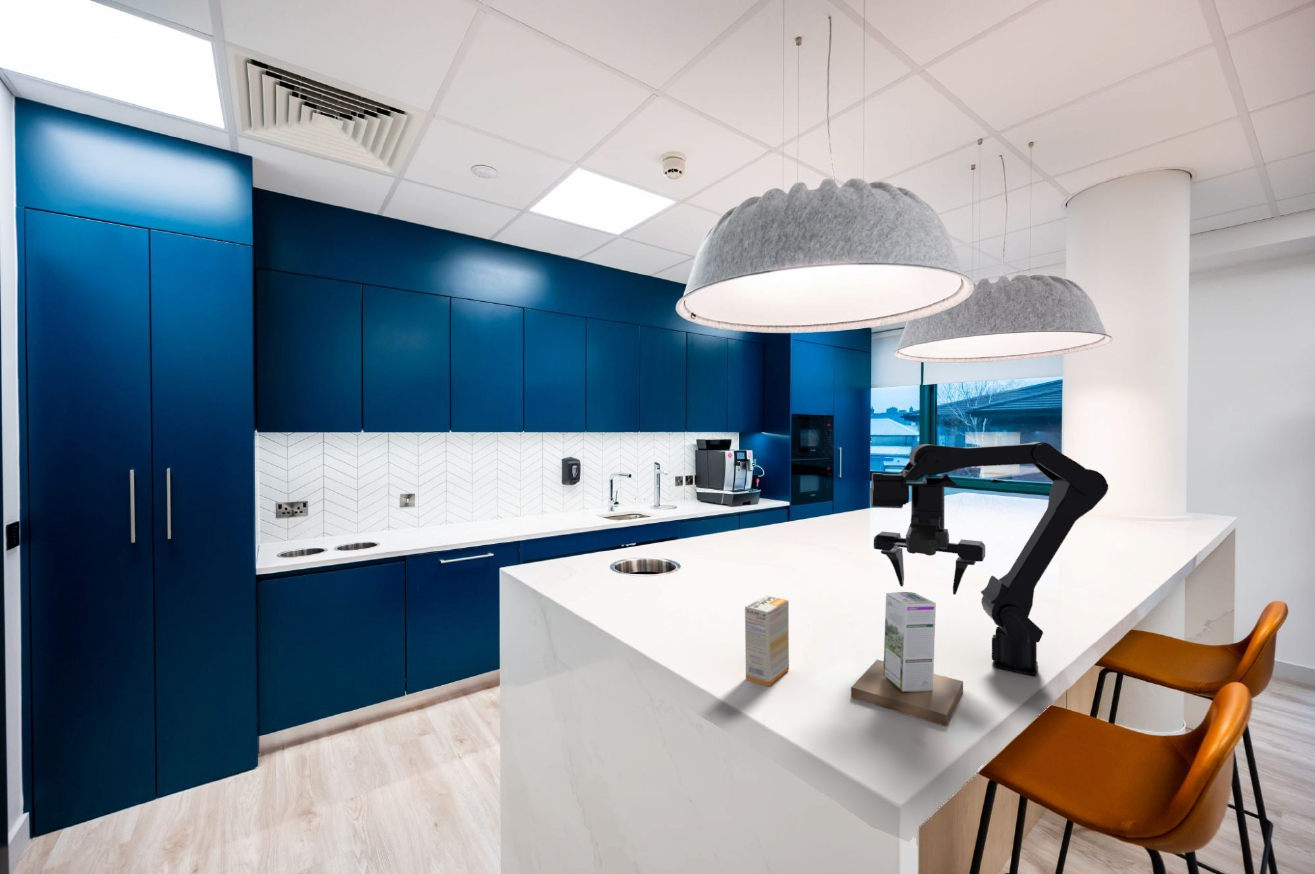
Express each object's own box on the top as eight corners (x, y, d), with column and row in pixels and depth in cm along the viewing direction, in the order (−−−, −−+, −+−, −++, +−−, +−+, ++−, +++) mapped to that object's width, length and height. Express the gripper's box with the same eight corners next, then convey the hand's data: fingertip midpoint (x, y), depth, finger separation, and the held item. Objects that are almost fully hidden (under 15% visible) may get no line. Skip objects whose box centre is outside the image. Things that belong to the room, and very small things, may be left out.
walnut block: (963, 695, 91) (963, 681, 91) (946, 731, 80) (946, 714, 80) (876, 672, 99) (877, 659, 99) (851, 702, 88) (851, 686, 88)
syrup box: (934, 691, 87) (938, 601, 87) (900, 692, 86) (904, 602, 86) (912, 675, 93) (916, 591, 93) (881, 676, 92) (884, 591, 92)
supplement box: (766, 663, 102) (766, 594, 101) (789, 670, 99) (789, 599, 98) (743, 679, 95) (743, 605, 95) (768, 687, 92) (768, 610, 92)
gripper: (866, 510, 103) (866, 591, 103) (979, 519, 92) (979, 610, 92) (880, 503, 112) (880, 578, 112) (985, 511, 101) (985, 594, 101)
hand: (927, 589), depth 104 cm, fingers open, 9 cm apart
